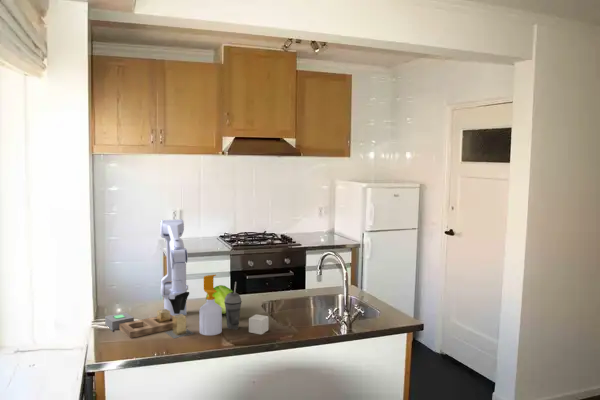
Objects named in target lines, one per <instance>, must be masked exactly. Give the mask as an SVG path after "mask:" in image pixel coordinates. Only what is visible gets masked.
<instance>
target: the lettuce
mask: <svg viewBox="0 0 600 400" xmlns="http://www.w3.org/2000/svg"><path fill="white" fill-rule="evenodd" d="M213 287H214V289H215V290H216V291H217V292H215V293H214V294H213V297H215V303H216V304H218V305H219V306H221V308H222V315H223V314H225V315H226V307H225V303H224V301H225V297H226V296H227V294H229V293H231V292H234V290H232V289H231V288H229V287H227V286H226V285H222V284H220V285H216V286H213ZM207 297H209V294H207V293H206V297H205V300H206V299H207Z"/></svg>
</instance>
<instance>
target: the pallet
mask: <svg viewBox="0 0 600 400" xmlns="http://www.w3.org/2000/svg"><path fill="white" fill-rule="evenodd" d="M119 328H120V329H119V331H121V333H122V334H124V335H126V336H127V337H128V338H129V339H132V338H137V337H142V336H146V335H147V336H148V335H151V334H156V333H160V332H161V333H162V332H167V331H171V330H173V315H171V314H170V322H165V323H160V324H159V323H158V322H157V316H154V317H149V318H148V317H147V318H143V319H138V320H134V321H132V322H127V323H122V324H119Z"/></svg>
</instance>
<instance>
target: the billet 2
mask: <svg viewBox="0 0 600 400" xmlns="http://www.w3.org/2000/svg"><path fill="white" fill-rule="evenodd" d="M186 329H187V315H183V314H179V315H174V316H173V329H172V330H173V333H174V334H176V335H180V334H185V333H186Z"/></svg>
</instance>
